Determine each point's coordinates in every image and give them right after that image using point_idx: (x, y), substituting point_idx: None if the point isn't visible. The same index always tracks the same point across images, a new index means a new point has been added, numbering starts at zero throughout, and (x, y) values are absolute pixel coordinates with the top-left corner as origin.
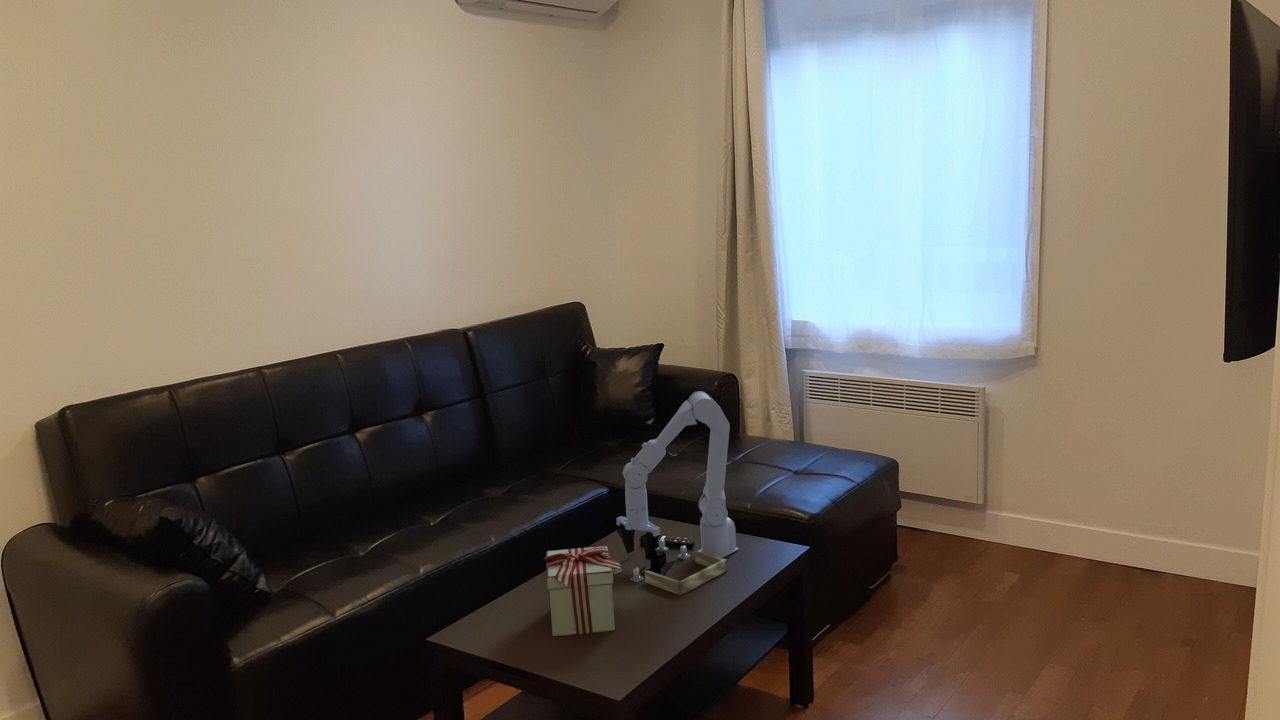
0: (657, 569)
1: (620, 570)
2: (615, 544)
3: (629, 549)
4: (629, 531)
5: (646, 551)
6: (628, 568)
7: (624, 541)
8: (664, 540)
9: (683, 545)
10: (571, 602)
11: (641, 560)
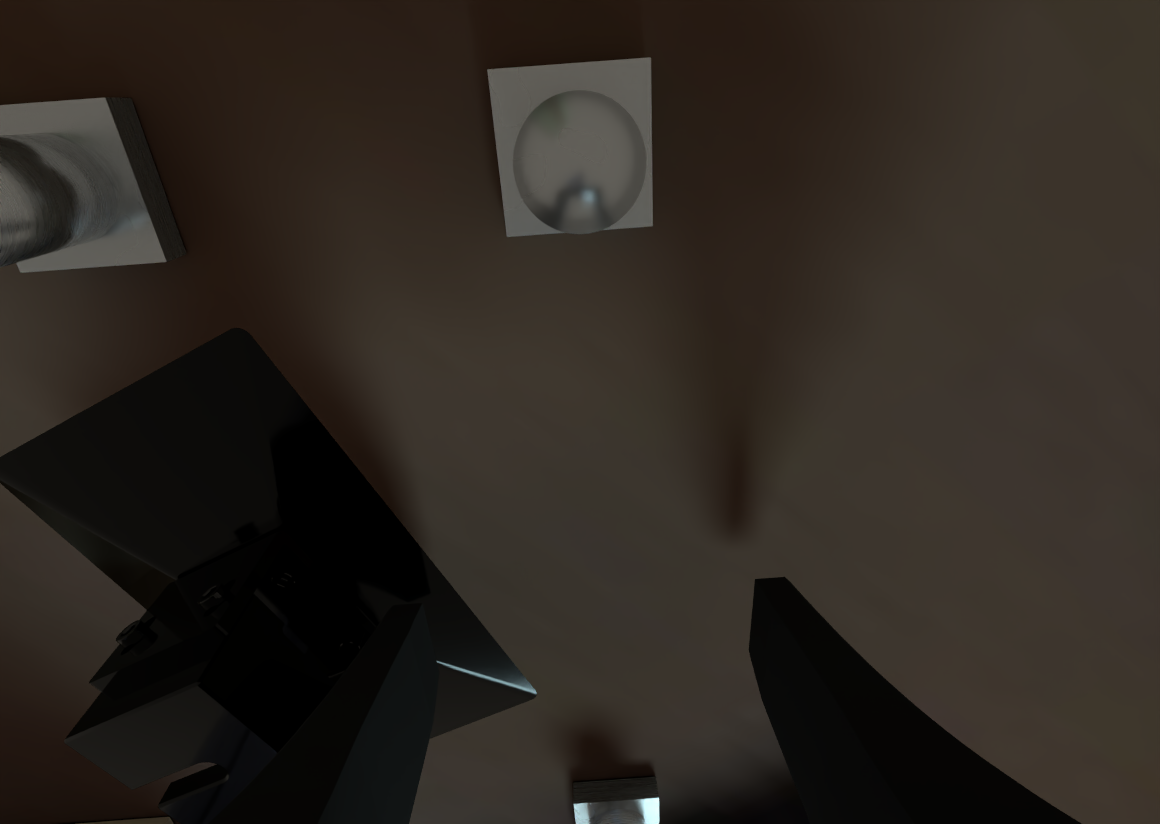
0: (187, 545)
1: (507, 211)
2: (1122, 657)
3: (767, 636)
4: None
5: (330, 705)
6: (526, 364)
7: (866, 714)
8: None
9: None
10: None
11: (591, 590)
